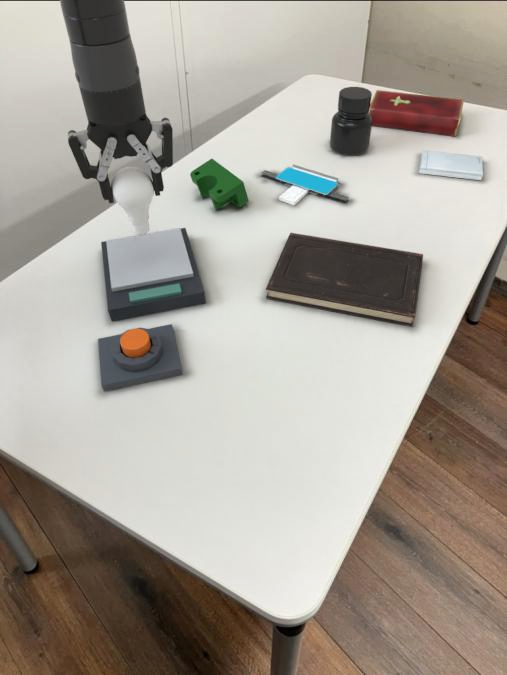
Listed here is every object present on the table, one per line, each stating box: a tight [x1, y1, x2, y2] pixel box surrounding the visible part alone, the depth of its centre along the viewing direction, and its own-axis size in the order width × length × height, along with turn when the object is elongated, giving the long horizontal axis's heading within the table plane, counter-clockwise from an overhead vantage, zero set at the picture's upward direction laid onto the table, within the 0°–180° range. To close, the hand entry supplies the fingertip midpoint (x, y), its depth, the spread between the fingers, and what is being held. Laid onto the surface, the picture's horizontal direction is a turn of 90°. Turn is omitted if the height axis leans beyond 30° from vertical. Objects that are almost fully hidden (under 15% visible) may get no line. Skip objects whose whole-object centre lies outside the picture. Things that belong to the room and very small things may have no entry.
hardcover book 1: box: [265, 232, 424, 328], centre depth 84 cm, size 16×23×2 cm
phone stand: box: [260, 164, 350, 206], centre depth 104 cm, size 20×12×2 cm, turn 56°
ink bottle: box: [329, 86, 373, 156], centre depth 112 cm, size 10×9×12 cm
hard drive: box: [418, 149, 484, 181], centre depth 108 cm, size 2×8×12 cm
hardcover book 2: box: [368, 89, 465, 137], centre depth 123 cm, size 12×21×4 cm, turn 71°
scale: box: [100, 227, 207, 322], centre depth 85 cm, size 15×18×3 cm
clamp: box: [189, 158, 249, 211], centre depth 100 cm, size 12×6×9 cm, turn 29°
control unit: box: [97, 323, 184, 392], centre depth 73 cm, size 11×9×3 cm
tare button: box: [120, 328, 151, 358], centre depth 71 cm, size 4×4×2 cm
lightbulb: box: [110, 166, 155, 235], centre depth 76 cm, size 6×6×11 cm
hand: (134, 196), depth 75 cm, fingers closed on lightbulb, 6 cm apart
